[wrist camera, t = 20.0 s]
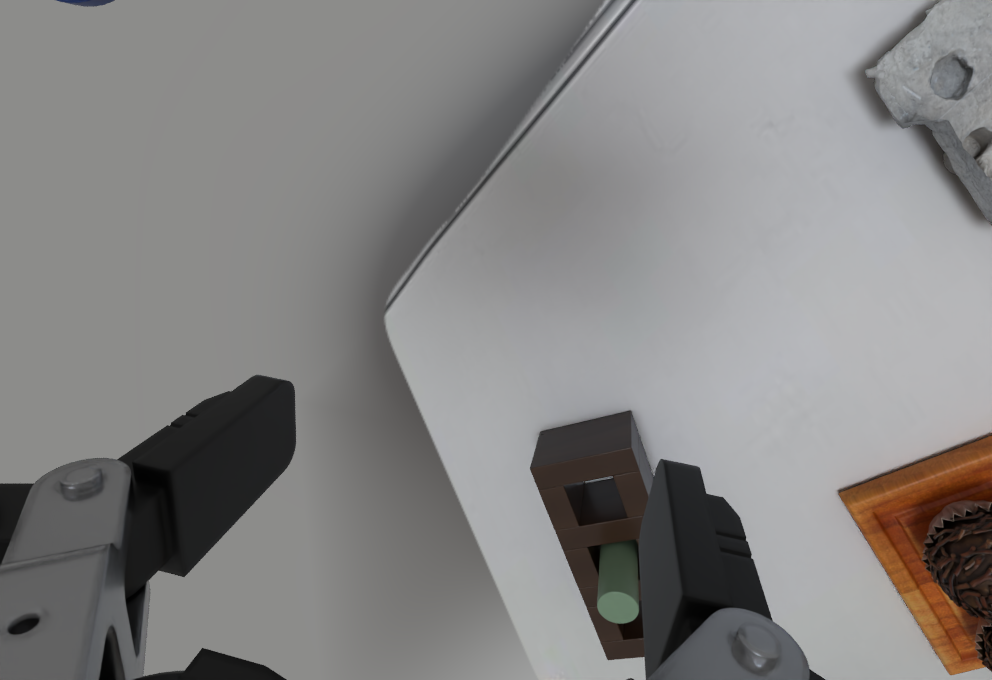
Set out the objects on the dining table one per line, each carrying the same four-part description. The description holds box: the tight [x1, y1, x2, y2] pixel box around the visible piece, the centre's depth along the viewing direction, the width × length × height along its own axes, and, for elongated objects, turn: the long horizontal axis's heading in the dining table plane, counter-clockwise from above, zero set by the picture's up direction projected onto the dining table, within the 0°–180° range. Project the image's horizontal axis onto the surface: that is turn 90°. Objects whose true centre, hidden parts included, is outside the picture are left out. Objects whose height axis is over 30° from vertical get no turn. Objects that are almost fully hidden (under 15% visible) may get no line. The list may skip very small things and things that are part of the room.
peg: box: [597, 539, 639, 624], centre depth 39 cm, size 3×3×9 cm
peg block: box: [530, 411, 654, 660], centre depth 41 cm, size 17×7×5 cm, turn 21°
